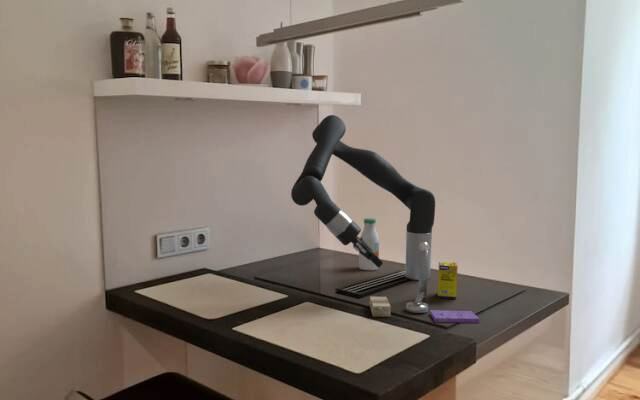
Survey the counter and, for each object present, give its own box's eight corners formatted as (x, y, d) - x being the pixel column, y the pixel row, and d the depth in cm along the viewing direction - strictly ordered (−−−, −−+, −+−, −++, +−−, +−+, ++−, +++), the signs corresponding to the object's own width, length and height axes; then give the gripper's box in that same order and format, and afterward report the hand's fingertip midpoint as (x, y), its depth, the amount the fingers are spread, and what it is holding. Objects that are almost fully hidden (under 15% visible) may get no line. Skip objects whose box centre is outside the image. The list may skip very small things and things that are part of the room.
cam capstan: (426, 314, 162) (428, 252, 160) (404, 311, 164) (406, 250, 162) (432, 297, 179) (434, 241, 177) (412, 295, 181) (414, 240, 179)
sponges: (429, 316, 163) (430, 309, 163) (472, 316, 163) (472, 310, 163) (435, 324, 156) (435, 317, 156) (479, 324, 156) (480, 318, 156)
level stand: (369, 306, 170) (369, 296, 170) (386, 306, 170) (386, 296, 170) (373, 317, 159) (373, 307, 159) (391, 318, 159) (391, 307, 159)
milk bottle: (369, 271, 215) (370, 220, 212) (354, 268, 220) (355, 218, 218) (382, 269, 220) (383, 218, 218) (368, 265, 225) (369, 216, 223)
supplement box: (456, 299, 179) (457, 266, 178) (437, 298, 180) (438, 265, 179) (455, 294, 185) (457, 262, 184) (437, 293, 186) (438, 261, 185)
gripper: (333, 231, 183) (370, 268, 185) (334, 239, 170) (374, 278, 172) (350, 215, 183) (386, 252, 184) (352, 222, 169) (391, 262, 171)
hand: (380, 265), depth 178 cm, fingers closed
